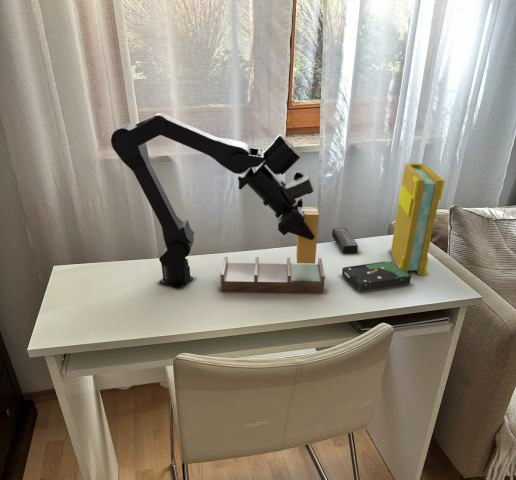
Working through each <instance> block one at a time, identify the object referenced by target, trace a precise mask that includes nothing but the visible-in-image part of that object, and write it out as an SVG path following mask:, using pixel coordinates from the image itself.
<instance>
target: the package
mask: <svg viewBox="0 0 516 480" xmlns="http://www.w3.org/2000/svg"><path fill="white" fill-rule="evenodd" d="M299 208H300V209H301V211H302V212H303V211H304V221H305V223H306V224H307V226H308V227H309V229H310V230H311V232H312V233H313V235H314V236H315V238H314V239H313V240H309V239H307V238H304V237H301V236H298V235H296V250H295V252H296V253H295V255H296V264H316V258H317V257H316V256H317V246H318V245H317V243H318V231H319V219H320V217H319V216H320V213H319V209H318V207H317V206H302V207H299Z"/></svg>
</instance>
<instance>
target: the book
mask: <svg viewBox="0 0 516 480" xmlns="http://www.w3.org/2000/svg"><path fill="white" fill-rule="evenodd" d="M402 174H403V176H402V180H401V181H402V182H401V184H400V189H399V196H398V201H397V202H398V206H397V212H396V218H395V223H394V230H393V236H392V242H391V249H390V254H391V257H392V259H393V260H394V263H395V265H396V266H398V267H399V268H402V269H403V270H404V271H406V272H407V273H408V274H409V271H415V272H416V274H417V275H423V276H424V275H426V272H427V268H428V262H429V256H428V254H429V250H430V244H431V241H432V240H431V239H432V236H433V231H434V230H433V229H434V226H435V220H436V215H437V210H438V206H439V201H441V200H442V195H443V191H444V186H445V182H446V181H445V179H444V178H443V177H442V176H440V175H438V174H436V172H434V170H433V169H431V168H430V166H428V165H427V164H424V163H418V162H408V163H405V165H404V169H403V173H402Z"/></svg>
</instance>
